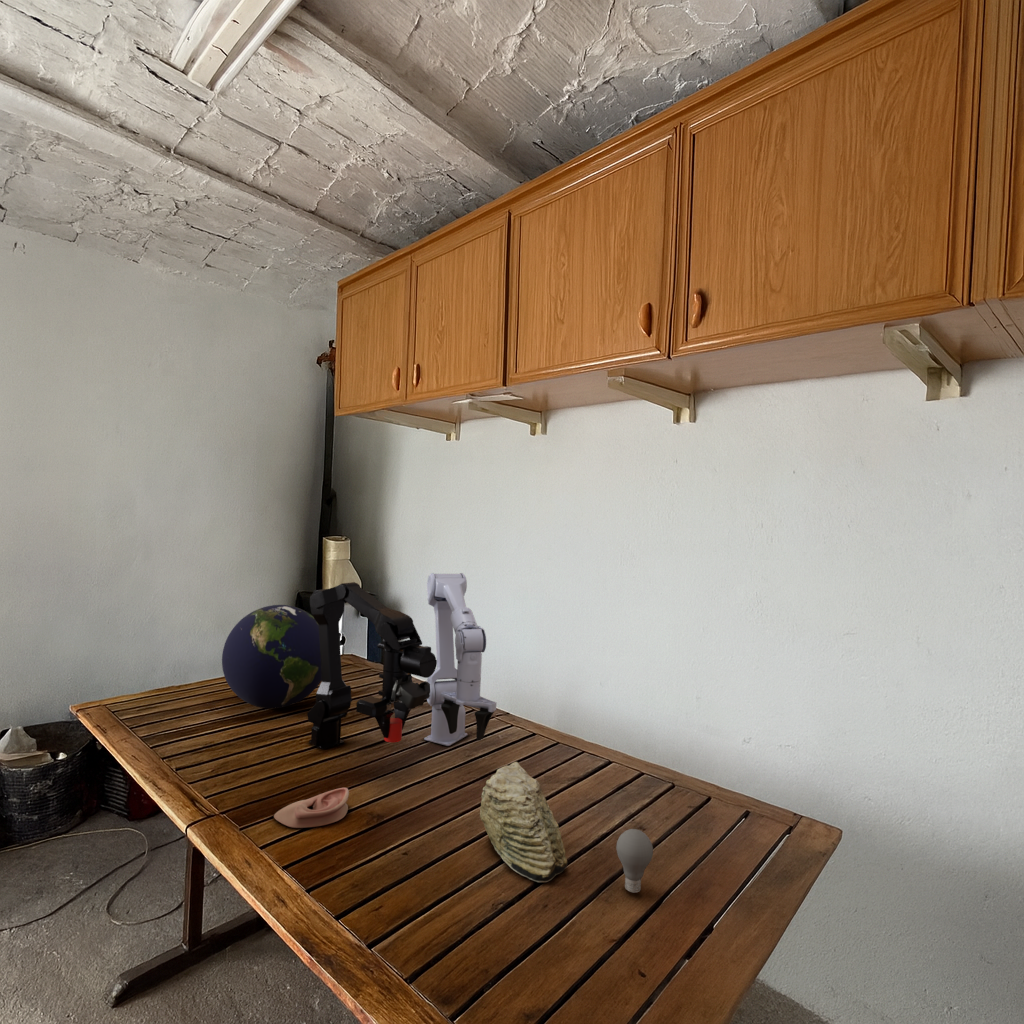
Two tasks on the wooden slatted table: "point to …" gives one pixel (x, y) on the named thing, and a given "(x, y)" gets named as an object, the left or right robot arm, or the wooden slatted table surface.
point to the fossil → (522, 824)
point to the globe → (273, 656)
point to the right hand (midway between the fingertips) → (466, 735)
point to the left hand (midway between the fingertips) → (392, 735)
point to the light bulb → (634, 857)
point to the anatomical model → (315, 810)
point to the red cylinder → (395, 730)
